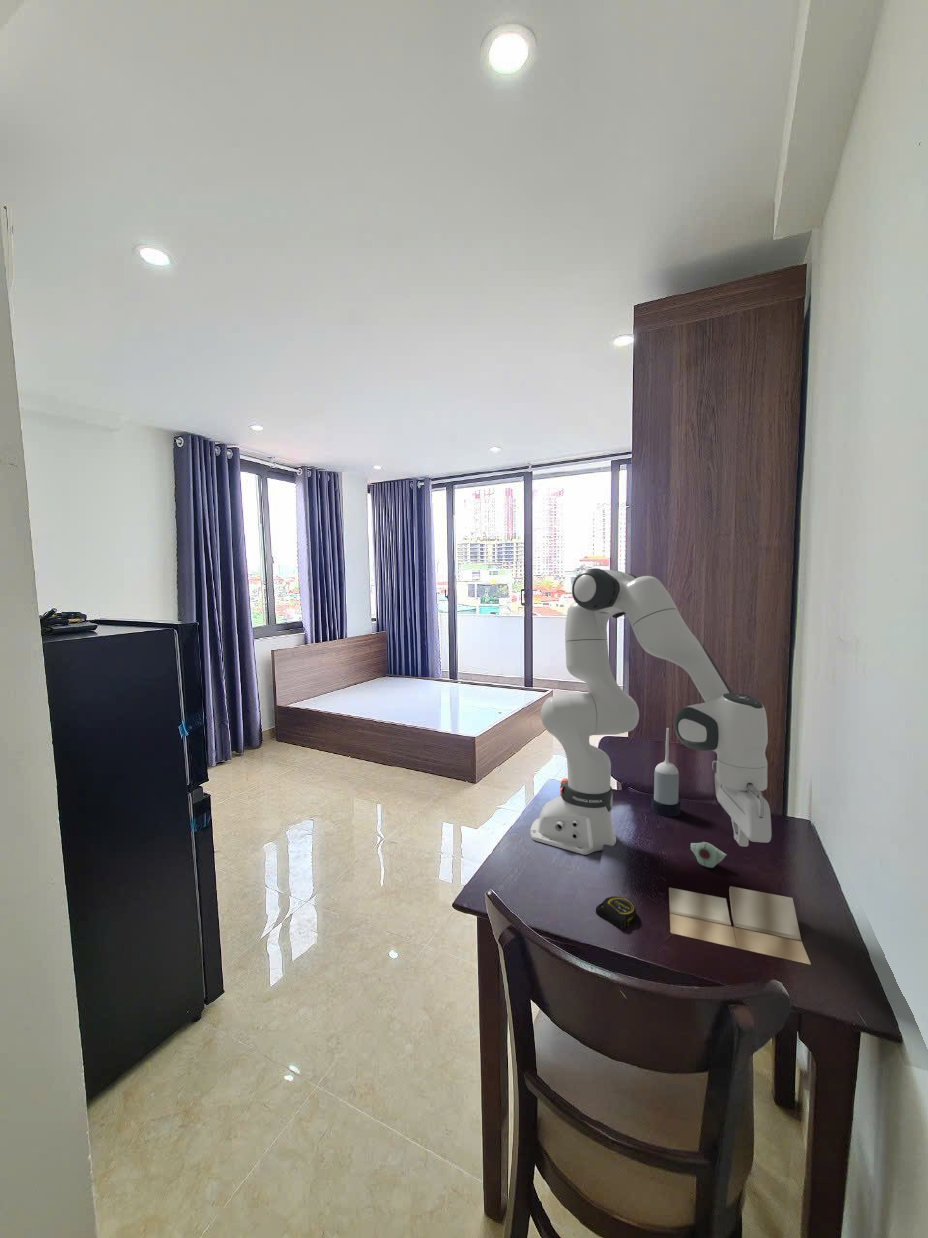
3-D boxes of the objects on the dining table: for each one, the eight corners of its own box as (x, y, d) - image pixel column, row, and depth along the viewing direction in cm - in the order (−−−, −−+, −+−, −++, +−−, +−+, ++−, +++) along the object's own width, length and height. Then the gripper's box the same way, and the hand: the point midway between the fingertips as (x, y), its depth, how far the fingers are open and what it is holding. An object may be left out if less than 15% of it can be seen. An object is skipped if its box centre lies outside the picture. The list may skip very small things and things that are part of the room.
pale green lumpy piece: (726, 872, 116) (727, 844, 116) (722, 880, 113) (723, 852, 113) (690, 860, 122) (691, 834, 121) (685, 867, 118) (686, 840, 118)
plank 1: (669, 919, 100) (669, 912, 100) (668, 893, 108) (668, 887, 107) (730, 932, 96) (731, 925, 96) (725, 905, 104) (726, 898, 103)
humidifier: (679, 807, 151) (681, 726, 150) (681, 818, 144) (683, 733, 142) (651, 803, 154) (652, 723, 153) (651, 814, 147) (652, 730, 145)
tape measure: (593, 920, 100) (593, 902, 100) (616, 908, 104) (616, 890, 104) (621, 940, 95) (621, 921, 94) (644, 926, 98) (644, 908, 98)
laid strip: (670, 940, 94) (670, 932, 94) (669, 920, 100) (669, 913, 100) (810, 973, 86) (811, 964, 86) (801, 949, 92) (801, 941, 92)
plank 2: (733, 930, 97) (734, 926, 96) (729, 890, 103) (729, 886, 102) (799, 944, 93) (801, 940, 92) (791, 902, 99) (792, 897, 98)
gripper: (781, 796, 89) (781, 872, 90) (740, 760, 109) (739, 822, 110) (743, 794, 90) (743, 868, 91) (709, 759, 110) (709, 820, 111)
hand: (741, 843), depth 100 cm, fingers closed
